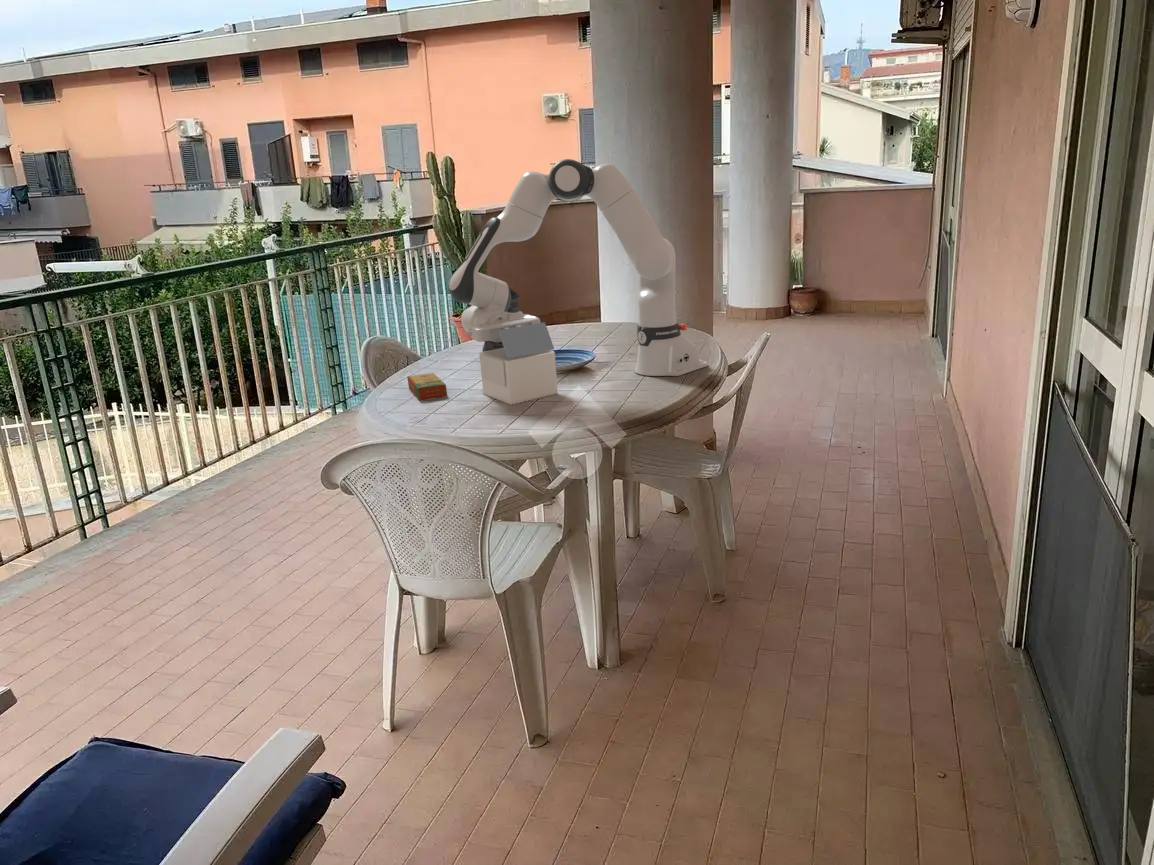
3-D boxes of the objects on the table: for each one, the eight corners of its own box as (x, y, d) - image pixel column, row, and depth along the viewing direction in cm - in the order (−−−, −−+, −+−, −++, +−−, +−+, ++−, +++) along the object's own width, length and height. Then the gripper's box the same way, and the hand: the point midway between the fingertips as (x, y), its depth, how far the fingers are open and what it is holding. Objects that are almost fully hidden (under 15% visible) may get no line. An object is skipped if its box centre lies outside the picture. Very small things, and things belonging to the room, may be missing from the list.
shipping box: (529, 383, 244) (526, 343, 240) (559, 393, 230) (556, 351, 227) (480, 393, 235) (476, 352, 232) (508, 405, 222) (504, 361, 218)
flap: (544, 322, 227) (544, 322, 227) (553, 349, 226) (554, 348, 226) (498, 330, 220) (498, 330, 219) (507, 358, 219) (508, 357, 218)
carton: (435, 385, 249) (434, 371, 248) (448, 397, 235) (446, 383, 234) (408, 389, 246) (406, 375, 245) (419, 402, 232) (417, 387, 231)
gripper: (461, 320, 230) (484, 326, 219) (524, 310, 240) (549, 315, 229) (464, 343, 232) (487, 350, 221) (526, 331, 242) (551, 337, 231)
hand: (519, 332), depth 225 cm, fingers closed
